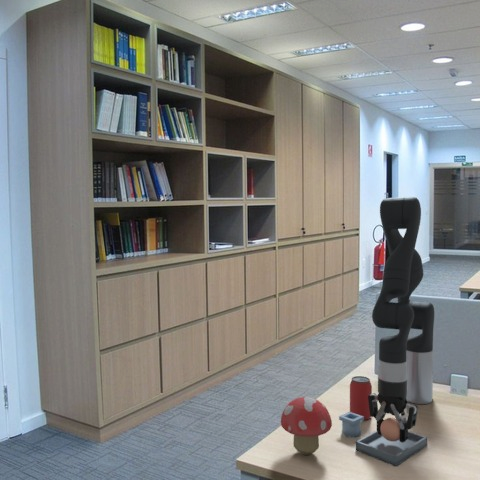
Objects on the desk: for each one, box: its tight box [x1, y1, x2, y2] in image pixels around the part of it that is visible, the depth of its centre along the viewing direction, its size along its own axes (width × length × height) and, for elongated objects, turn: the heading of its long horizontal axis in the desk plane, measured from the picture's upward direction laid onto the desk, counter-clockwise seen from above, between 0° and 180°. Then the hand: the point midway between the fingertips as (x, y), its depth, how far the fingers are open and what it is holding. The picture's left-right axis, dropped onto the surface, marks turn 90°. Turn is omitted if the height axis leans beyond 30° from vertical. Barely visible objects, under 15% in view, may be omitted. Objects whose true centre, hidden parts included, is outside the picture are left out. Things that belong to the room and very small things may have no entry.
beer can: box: [349, 375, 373, 421], centre depth 161 cm, size 7×7×12 cm
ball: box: [380, 417, 400, 441], centre depth 140 cm, size 6×6×6 cm
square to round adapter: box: [338, 411, 365, 438], centre depth 150 cm, size 5×5×5 cm
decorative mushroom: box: [280, 396, 333, 456], centre depth 137 cm, size 13×13×15 cm
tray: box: [355, 429, 428, 467], centre depth 140 cm, size 16×12×2 cm
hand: (391, 437), depth 140 cm, fingers closed on ball, 6 cm apart
